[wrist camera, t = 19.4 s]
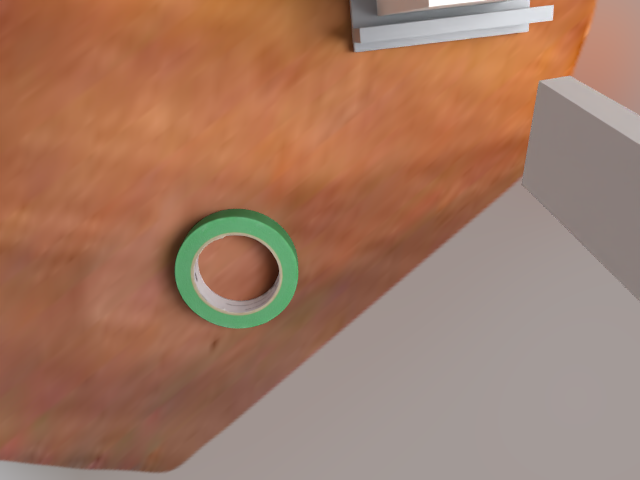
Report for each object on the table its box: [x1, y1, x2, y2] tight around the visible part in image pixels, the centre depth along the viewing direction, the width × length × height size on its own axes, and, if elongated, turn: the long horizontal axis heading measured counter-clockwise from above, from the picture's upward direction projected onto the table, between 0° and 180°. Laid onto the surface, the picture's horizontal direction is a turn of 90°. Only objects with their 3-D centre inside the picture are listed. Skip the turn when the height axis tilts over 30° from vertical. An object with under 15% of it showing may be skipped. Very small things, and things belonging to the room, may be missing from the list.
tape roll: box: [175, 209, 298, 328], centre depth 48 cm, size 11×11×3 cm
